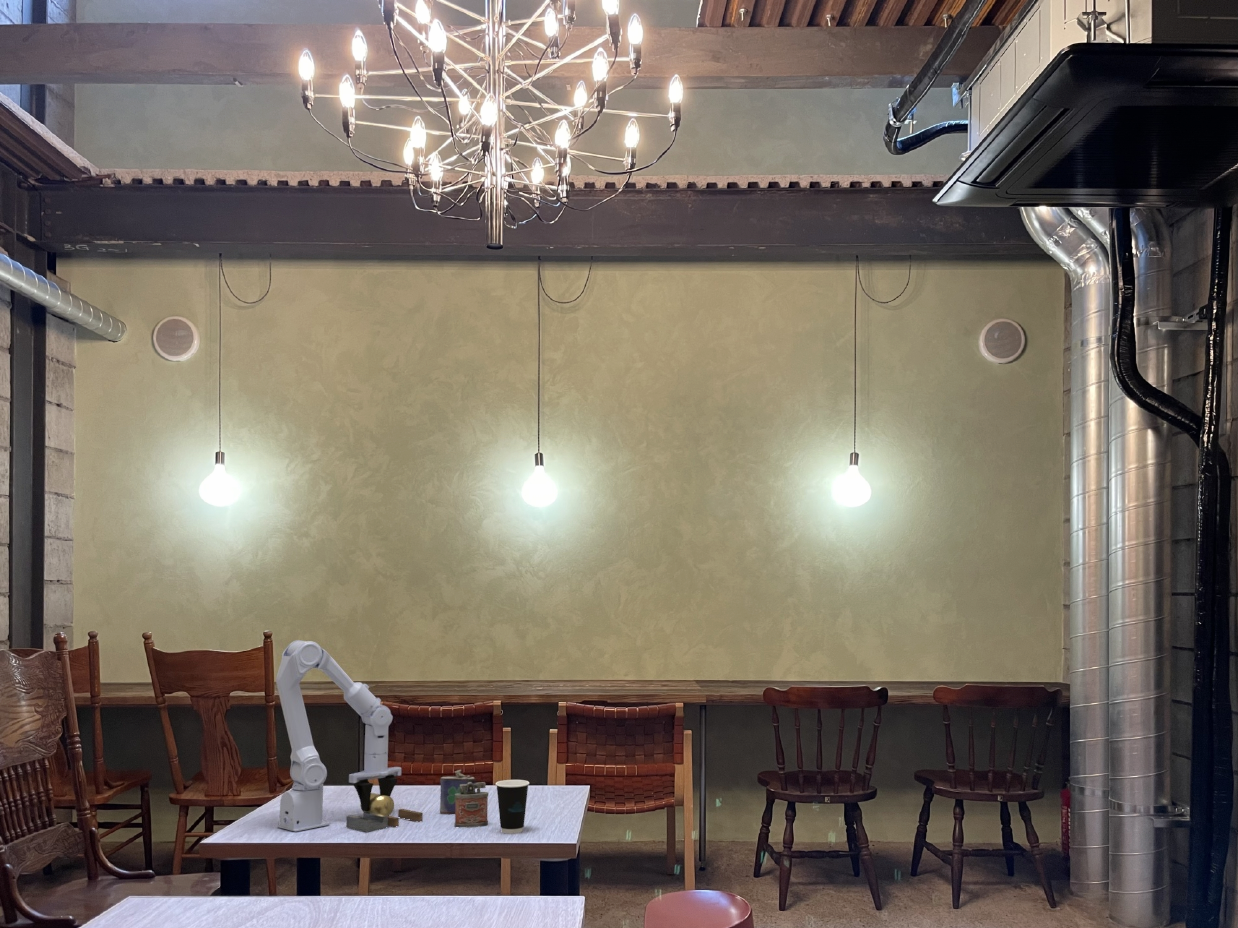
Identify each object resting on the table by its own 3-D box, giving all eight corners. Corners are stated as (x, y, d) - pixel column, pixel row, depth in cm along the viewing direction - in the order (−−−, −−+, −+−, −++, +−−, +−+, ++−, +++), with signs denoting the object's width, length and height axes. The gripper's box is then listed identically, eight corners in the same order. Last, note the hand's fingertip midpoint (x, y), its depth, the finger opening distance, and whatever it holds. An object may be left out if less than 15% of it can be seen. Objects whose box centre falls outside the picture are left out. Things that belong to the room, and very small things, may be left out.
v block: (366, 832, 234) (366, 820, 235) (346, 827, 240) (346, 815, 240) (387, 827, 239) (387, 815, 239) (367, 822, 244) (367, 811, 244)
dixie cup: (516, 836, 229) (516, 786, 231) (488, 832, 233) (488, 783, 234) (535, 829, 236) (535, 781, 238) (507, 825, 240) (508, 778, 241)
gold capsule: (394, 814, 250) (394, 794, 251) (377, 818, 246) (377, 797, 247) (376, 811, 255) (377, 790, 255) (360, 814, 251) (360, 794, 252)
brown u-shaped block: (394, 827, 239) (394, 818, 240) (374, 822, 244) (374, 814, 245) (422, 821, 246) (422, 812, 246) (402, 816, 251) (402, 808, 251)
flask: (438, 814, 254) (439, 770, 255) (442, 811, 257) (443, 768, 258) (473, 815, 252) (474, 771, 253) (477, 813, 255) (477, 769, 256)
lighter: (455, 828, 238) (455, 784, 239) (453, 825, 241) (454, 782, 243) (489, 825, 240) (489, 782, 241) (487, 822, 243) (487, 780, 245)
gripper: (361, 757, 245) (360, 815, 243) (409, 750, 256) (408, 805, 254) (344, 755, 250) (342, 811, 248) (392, 748, 261) (390, 802, 259)
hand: (374, 808), depth 251 cm, fingers closed on gold capsule, 5 cm apart
